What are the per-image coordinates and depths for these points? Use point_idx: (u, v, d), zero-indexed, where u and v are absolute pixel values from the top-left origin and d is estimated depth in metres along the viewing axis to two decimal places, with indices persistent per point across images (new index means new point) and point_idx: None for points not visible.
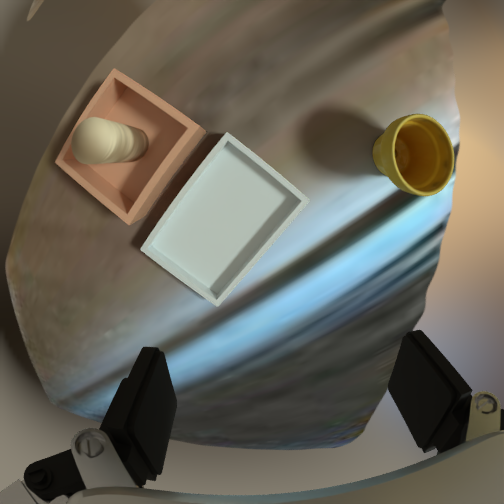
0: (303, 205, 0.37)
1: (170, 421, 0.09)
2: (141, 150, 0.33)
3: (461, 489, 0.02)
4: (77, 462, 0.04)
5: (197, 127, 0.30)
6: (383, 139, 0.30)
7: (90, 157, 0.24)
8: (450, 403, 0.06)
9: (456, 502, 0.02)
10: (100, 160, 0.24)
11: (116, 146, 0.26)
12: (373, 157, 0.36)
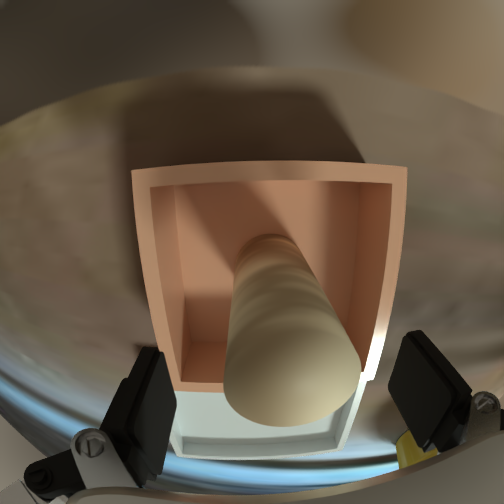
0: (333, 450, 0.26)
1: (170, 421, 0.09)
2: None
3: (461, 489, 0.02)
4: (77, 462, 0.04)
5: (370, 378, 0.18)
6: (431, 455, 0.22)
7: (256, 409, 0.09)
8: (450, 403, 0.06)
9: (456, 501, 0.02)
10: None
11: None
12: (405, 435, 0.29)
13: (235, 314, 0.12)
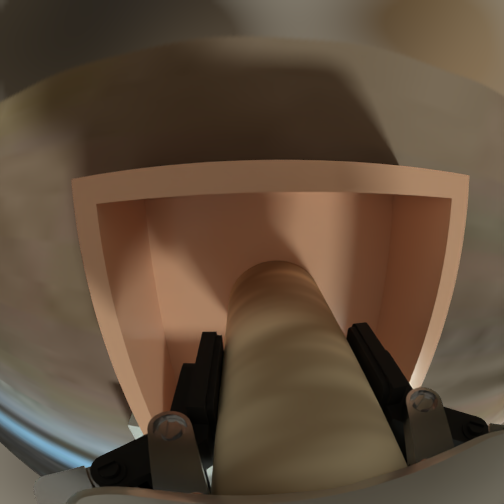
0: None
1: None
2: None
3: (461, 489, 0.02)
4: (150, 442, 0.05)
5: None
6: None
7: None
8: (383, 396, 0.07)
9: (456, 502, 0.02)
10: None
11: None
12: None
13: (225, 417, 0.06)
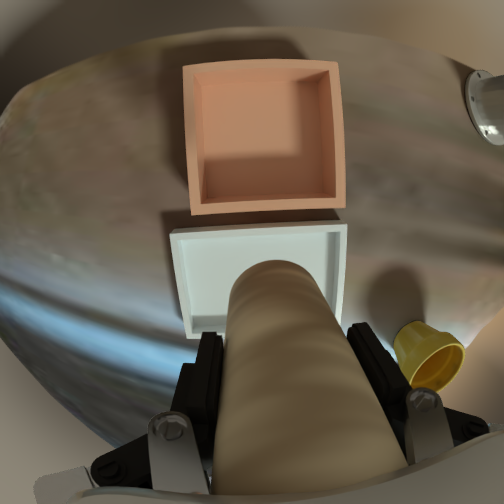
0: None
1: None
2: None
3: (461, 489, 0.02)
4: (150, 442, 0.05)
5: (342, 206, 0.27)
6: (427, 339, 0.31)
7: None
8: (383, 396, 0.07)
9: (456, 502, 0.02)
10: None
11: None
12: (400, 332, 0.38)
13: (225, 416, 0.06)
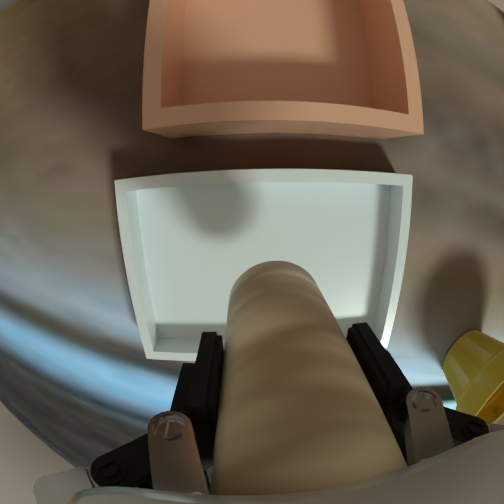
0: None
1: None
2: None
3: (461, 489, 0.02)
4: (150, 442, 0.05)
5: (419, 131, 0.12)
6: (499, 356, 0.17)
7: None
8: (383, 396, 0.07)
9: (456, 502, 0.02)
10: None
11: None
12: (455, 345, 0.24)
13: (225, 418, 0.06)
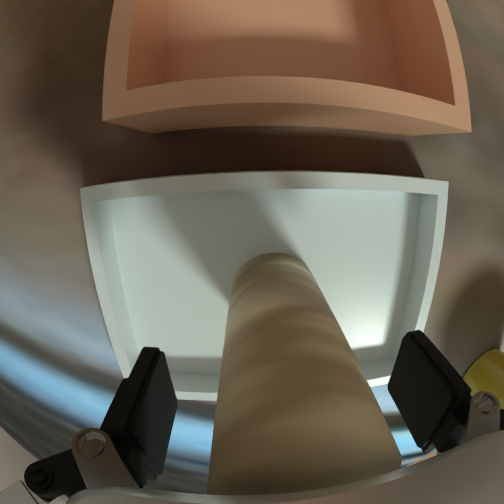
0: None
1: (170, 421, 0.09)
2: None
3: (461, 489, 0.02)
4: (77, 462, 0.04)
5: (467, 127, 0.08)
6: None
7: None
8: (450, 403, 0.06)
9: (456, 502, 0.02)
10: None
11: None
12: (474, 367, 0.20)
13: (225, 386, 0.07)
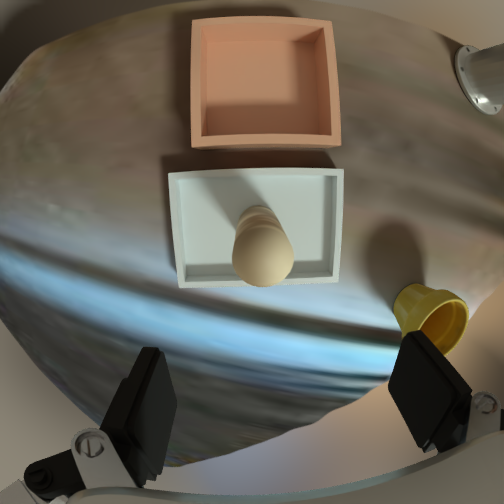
0: (330, 280, 0.35)
1: (170, 421, 0.09)
2: None
3: (461, 489, 0.02)
4: (77, 462, 0.04)
5: (338, 144, 0.26)
6: (429, 295, 0.31)
7: (246, 272, 0.23)
8: (450, 403, 0.06)
9: (456, 502, 0.02)
10: None
11: None
12: (400, 293, 0.38)
13: (237, 233, 0.25)
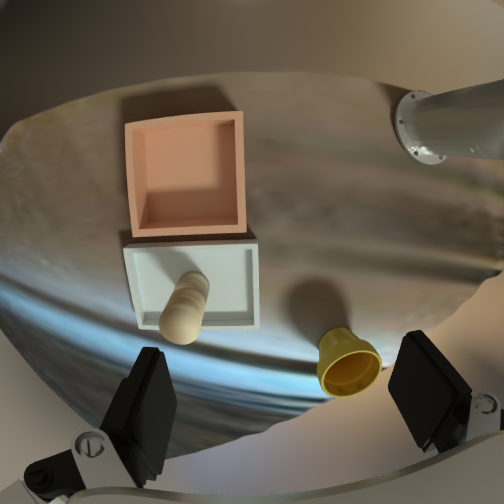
0: (252, 328, 0.43)
1: (170, 421, 0.09)
2: None
3: (461, 489, 0.02)
4: (77, 462, 0.04)
5: (244, 231, 0.35)
6: (339, 345, 0.40)
7: (169, 335, 0.32)
8: (450, 403, 0.06)
9: (456, 501, 0.02)
10: None
11: None
12: (324, 336, 0.46)
13: (166, 304, 0.34)
